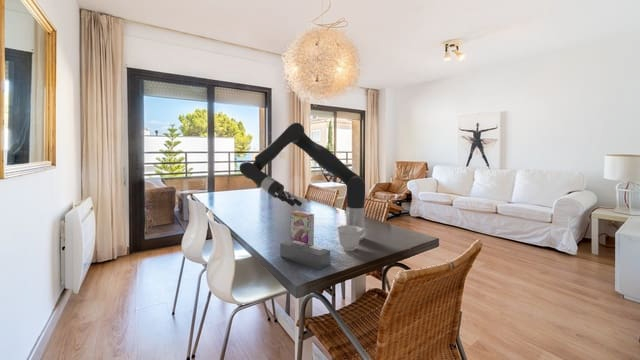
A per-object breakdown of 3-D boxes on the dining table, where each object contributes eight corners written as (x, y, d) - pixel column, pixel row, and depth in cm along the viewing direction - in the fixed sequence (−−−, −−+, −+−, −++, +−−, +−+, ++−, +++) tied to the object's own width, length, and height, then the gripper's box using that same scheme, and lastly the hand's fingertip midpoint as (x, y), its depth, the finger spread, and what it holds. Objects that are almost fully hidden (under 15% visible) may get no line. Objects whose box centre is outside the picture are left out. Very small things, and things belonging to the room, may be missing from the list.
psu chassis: (291, 251, 128) (291, 238, 128) (330, 264, 115) (330, 249, 114) (280, 256, 123) (280, 242, 122) (319, 270, 109) (319, 254, 109)
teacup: (371, 252, 130) (372, 230, 129) (341, 254, 125) (342, 233, 124) (360, 243, 141) (361, 224, 140) (332, 245, 137) (333, 226, 136)
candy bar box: (289, 244, 138) (289, 211, 136) (296, 242, 142) (296, 210, 140) (307, 249, 132) (308, 215, 130) (314, 246, 136) (314, 213, 134)
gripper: (269, 179, 132) (295, 197, 126) (282, 181, 145) (307, 198, 140) (261, 192, 132) (287, 211, 127) (275, 194, 146) (299, 211, 141)
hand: (297, 204), depth 134 cm, fingers open, 8 cm apart
